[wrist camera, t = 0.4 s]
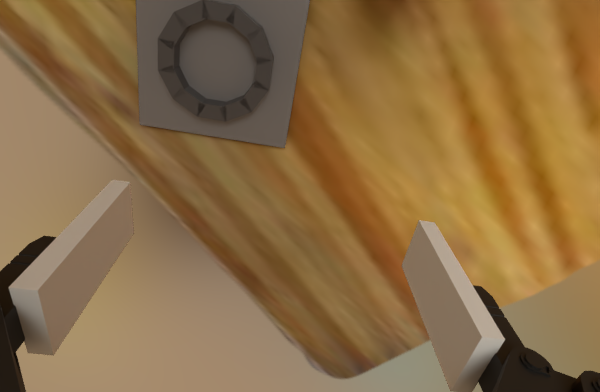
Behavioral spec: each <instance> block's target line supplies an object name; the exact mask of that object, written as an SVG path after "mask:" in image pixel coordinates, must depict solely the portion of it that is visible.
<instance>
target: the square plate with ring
mask: <svg viewBox="0 0 600 392" xmlns="http://www.w3.org/2000/svg"><path fill="white" fill-rule="evenodd" d="M309 3H310V0H136V20H137V54H138V87H139V120H140V125H146V126H152V127H158V128H164V129H170V130H176V131H183V132H189V133H195V134H201V135H207V136H213V137H220V138H226V139H232V140H238V141H244V142H250V143H257V144H263V145H269V146H275V147H281V148H285V144H286V138H287V132H288V127H289V121H290V115H291V109H292V103H293V97H294V91H295V85H296V79H297V73H298V68H299V62H300V56H301V50H302V44H303V38H304V32H305V26H306V20H307V14H308V9H309Z"/></svg>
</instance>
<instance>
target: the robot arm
mask: <svg viewBox="0 0 600 392" xmlns="http://www.w3.org/2000/svg"><path fill="white" fill-rule="evenodd" d="M133 234H134V227H133V213H132V198H131V184H130V182H126V181H119V180H111V181H110V182H109V183H108V184H107V186H106V187H105V188H104V189H103V190H102V191H101V192H100V193H99V194H98V195H97V196H96V197H95V198H94V199H93V200H92V201H91V202H90V203H89V204H88V205H87V206H86V207H85V208H84V209H83V210H82V212H81V213H80V214H79V215H78V216H77V217H76V218H75V219H74V220H73V221H72V222H71V223H70V224H69V225H68V226H67V227H66V228H65V229H64V230H63V231H62V232H61V233H60V234H59V235H58V236H57V237H50V236H43V237H41V238H39V239H37V240H35V241H33V242H32V243H30V244H28V245H27V246H26V247H25V248H24V249H23V250H22V251H21V252H20V253H19V255H17V256H16V257H15V258H14V259H13V260H12V261H11V263H10V264H8V265H6V266H5V267H4V268H3V269H2V270H1V271H0V392H26V390H25V387H24V382H23V378H22V375H21V371H20V366H19V362H18V358H17V355H16V351H17V349H18V348H19V347H20V345H21V344H22V343H23V342H24V341H25V345H26V348H27V352H28V353H33V354H45V355H54V354H55V352H56V351H57V349H58V348H59V346H60V345H61V343H62V342H63V340H64V339H65V337H66V335H67V334H68V333H69V331H70V330H71V328H72V327H73V325H74V323H75V322H76V321H77V319H78V318H79V316H80V315H81V313H82V311H83V310H84V308H85V307H86V305H87V304H88V302H89V301H90V299H91V298H92V296H93V295H94V293H95V292H96V290H97V289H98V287H99V286H100V284H101V283H102V281H103V280H104V278H105V277H106V275H107V274H108V272H109V271H110V269H111V267H112V266H113V264H114V263H115V261H116V260H117V258H118V257H119V255H120V254H121V252H122V251H123V249H124V248H125V246H126V245H127V243H128V242H129V240H130V239H131V237H132V236H133ZM402 268H403V271H404V273H405V276H406V278H407V281H408V283H409V286H410V289H411V291H412V294H413V296H414V299H415V301H416V304H417V307H418V309H419V312H420V314H421V317H422V319H423V322H424V325H425V327H426V330H427V332H428V335H429V337H430V340H431V342H432V345H433V348H434V350H435V353H436V355H437V358H438V360H439V363H440V366H441V368H442V371H443V373H444V376H445V378H446V381H447V384H448V386H449V389H450V391H454V392H472V391H473V389H474V388H475V386H476V385H477V383H478V382H479V384H480V386H481V388H482V391H483V392H600V373H597V372H593V371H584V372H583V373H582V374H581V375H580V376H579V377H578V378H577V379H576V378H573V377H571V376H568V375H565V374H562V373H560V372H557V371H554V370H553V368H552V366H551V365H550V363H549V362H548V361H547V360H546V359H545V358H544V357H542V356H541V355H540V354H538V353H537V352H535V351H533V350H531V349H528V348H525V347H524V345H523V344H522V342H521V341H520V339H519V337H518V336H517V334H516V333H515V331H514V330H513V328H512V327H511V325H510V323H509V322H508V320H507V319H506V318H504V314H503V313H502V311H501V309H499V306H498V305H497V303H496V302H495V300H494V299H493V297H492V296H491V295H490V294H489V293H488V292H487V291H486V290H485V289H483V288H482V287H481V286H473V285H472V284H471V282H470V280H469V279H468V277H467V275H466V274H465V272H464V270H463V269H462V267H461V265H460V264H459V262H458V260H457V259H456V257H455V256H454V254H453V252H452V251H451V249H450V247H449V246H448V244H447V242H446V241H445V239H444V237H443V236H442V234H441V232H440V231H439V229H438V227H437V226H436V224H435V222H428V221H420V220H419V221H418V224H417V227H416V229H415V232H414V235H413V237H412V240H411V243H410V245H409V248H408V250H407V253H406V256H405V258H404V261H403V264H402Z"/></svg>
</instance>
